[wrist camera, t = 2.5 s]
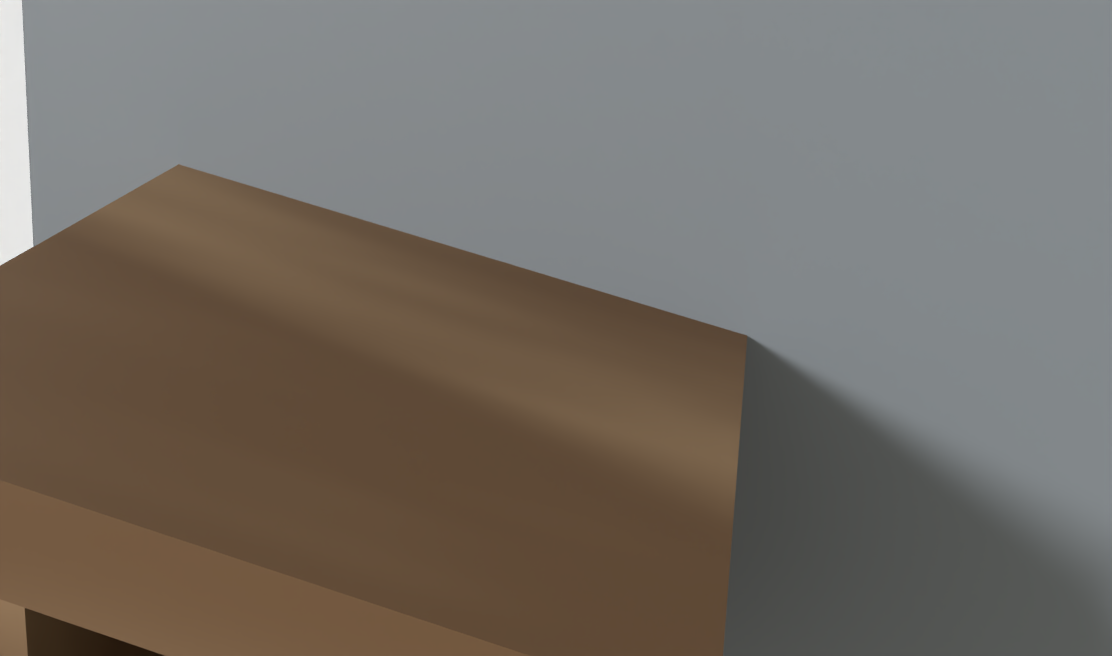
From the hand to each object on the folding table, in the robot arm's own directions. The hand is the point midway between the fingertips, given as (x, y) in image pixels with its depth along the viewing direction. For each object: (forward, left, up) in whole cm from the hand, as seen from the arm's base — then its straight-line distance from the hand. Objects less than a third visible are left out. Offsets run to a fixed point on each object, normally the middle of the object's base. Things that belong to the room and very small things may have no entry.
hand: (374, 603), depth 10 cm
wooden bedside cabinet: (0, 0, -2) cm, 2 cm away
